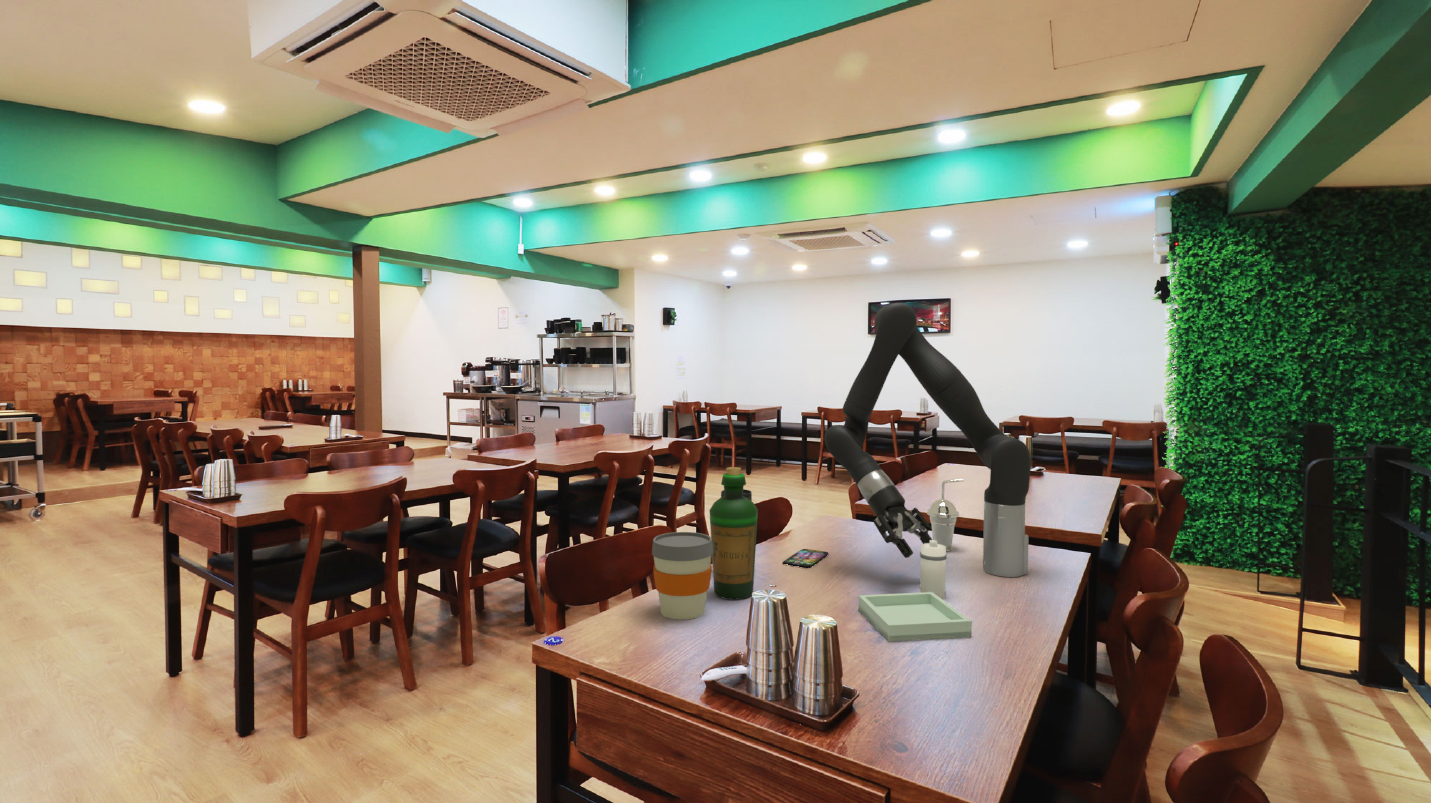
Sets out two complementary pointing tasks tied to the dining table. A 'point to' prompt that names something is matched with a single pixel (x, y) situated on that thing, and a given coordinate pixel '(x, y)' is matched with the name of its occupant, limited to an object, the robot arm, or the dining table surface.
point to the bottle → (733, 538)
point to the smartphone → (806, 558)
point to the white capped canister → (933, 568)
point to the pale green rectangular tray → (914, 616)
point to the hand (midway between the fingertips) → (921, 552)
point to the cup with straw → (943, 519)
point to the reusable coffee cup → (682, 573)
